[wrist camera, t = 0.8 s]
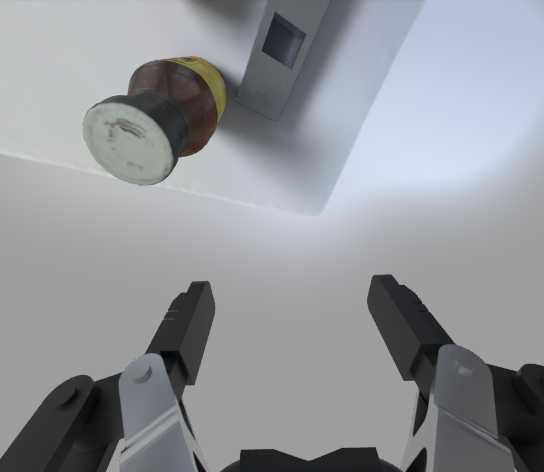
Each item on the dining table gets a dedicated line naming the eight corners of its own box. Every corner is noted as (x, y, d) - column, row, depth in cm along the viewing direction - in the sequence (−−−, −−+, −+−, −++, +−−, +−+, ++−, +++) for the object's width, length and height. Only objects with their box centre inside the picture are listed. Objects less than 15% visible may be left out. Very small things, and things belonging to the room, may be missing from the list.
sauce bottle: (200, 41, 23) (113, 6, 7) (238, 99, 26) (231, 155, 11) (158, 84, 25) (19, 125, 9) (199, 132, 28) (147, 219, 13)
